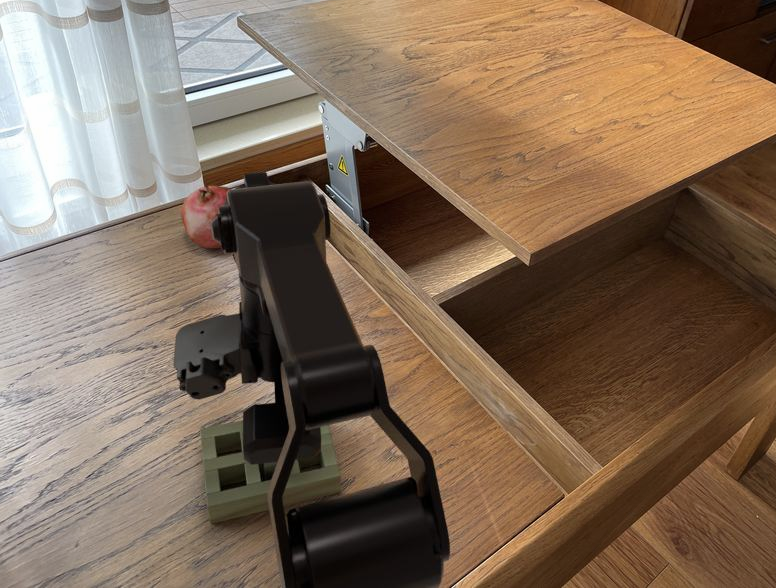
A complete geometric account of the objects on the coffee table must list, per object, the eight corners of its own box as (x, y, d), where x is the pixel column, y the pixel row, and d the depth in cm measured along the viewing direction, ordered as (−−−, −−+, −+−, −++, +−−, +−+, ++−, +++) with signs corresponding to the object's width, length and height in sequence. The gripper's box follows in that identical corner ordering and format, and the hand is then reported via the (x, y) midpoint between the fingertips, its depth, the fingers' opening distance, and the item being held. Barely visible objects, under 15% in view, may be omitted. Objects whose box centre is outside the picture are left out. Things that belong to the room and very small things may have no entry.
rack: (340, 492, 78) (341, 475, 75) (210, 524, 73) (207, 507, 71) (323, 421, 84) (323, 403, 82) (202, 446, 79) (199, 428, 77)
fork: (284, 487, 77) (281, 418, 69) (263, 492, 76) (257, 422, 68) (283, 479, 78) (279, 409, 70) (262, 483, 77) (256, 414, 69)
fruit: (247, 214, 110) (243, 161, 104) (251, 256, 103) (247, 201, 97) (184, 218, 107) (176, 164, 101) (183, 261, 101) (174, 205, 94)
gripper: (181, 235, 64) (198, 344, 74) (164, 414, 51) (188, 516, 61) (309, 231, 67) (308, 336, 77) (323, 400, 54) (319, 499, 64)
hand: (281, 413), depth 70 cm, fingers open, 9 cm apart
